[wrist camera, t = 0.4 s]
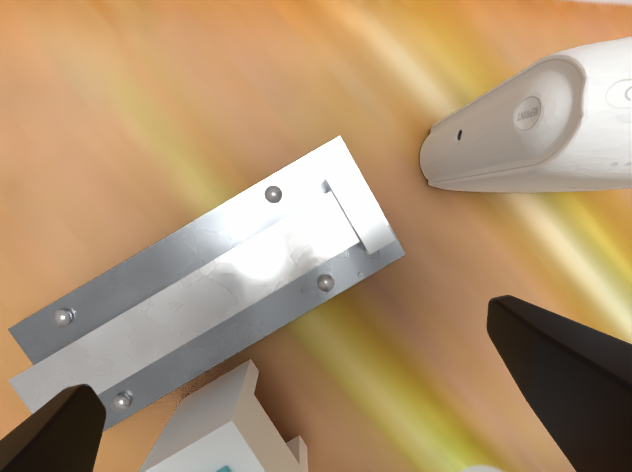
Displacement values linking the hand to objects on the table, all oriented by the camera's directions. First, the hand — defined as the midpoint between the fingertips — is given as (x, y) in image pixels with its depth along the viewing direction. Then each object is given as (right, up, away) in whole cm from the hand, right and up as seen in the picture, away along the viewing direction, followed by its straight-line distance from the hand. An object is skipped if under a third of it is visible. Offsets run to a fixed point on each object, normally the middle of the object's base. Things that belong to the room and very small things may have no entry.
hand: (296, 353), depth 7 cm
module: (-4, -9, +14) cm, 17 cm away
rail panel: (-6, -1, +13) cm, 14 cm away
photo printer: (+12, +7, +13) cm, 19 cm away
